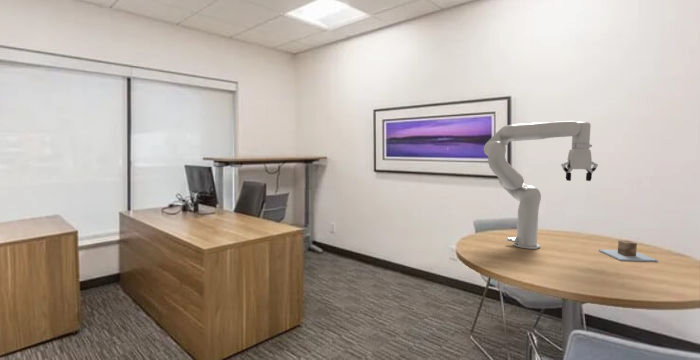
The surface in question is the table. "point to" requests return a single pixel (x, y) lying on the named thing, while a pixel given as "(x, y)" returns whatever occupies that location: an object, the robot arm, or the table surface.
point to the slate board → (628, 258)
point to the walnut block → (627, 248)
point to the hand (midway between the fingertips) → (578, 180)
